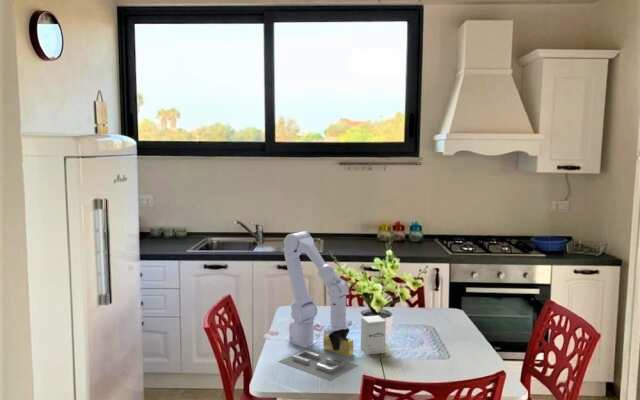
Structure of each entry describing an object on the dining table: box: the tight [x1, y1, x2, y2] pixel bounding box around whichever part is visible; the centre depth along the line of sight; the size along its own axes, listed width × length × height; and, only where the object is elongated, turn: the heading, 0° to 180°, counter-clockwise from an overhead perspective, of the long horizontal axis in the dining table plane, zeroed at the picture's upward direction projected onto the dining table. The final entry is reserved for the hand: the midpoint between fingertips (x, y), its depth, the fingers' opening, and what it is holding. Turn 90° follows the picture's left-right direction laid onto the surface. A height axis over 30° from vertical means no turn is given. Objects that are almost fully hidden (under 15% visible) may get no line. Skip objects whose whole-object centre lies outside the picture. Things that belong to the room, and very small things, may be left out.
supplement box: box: [360, 315, 387, 355], centre depth 195 cm, size 7×7×13 cm
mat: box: [277, 347, 359, 382], centre depth 183 cm, size 24×16×1 cm, turn 50°
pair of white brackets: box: [293, 349, 344, 374], centre depth 183 cm, size 18×7×2 cm, turn 50°
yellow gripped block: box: [323, 334, 354, 358], centre depth 193 cm, size 12×3×6 cm, turn 50°
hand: (338, 348), depth 194 cm, fingers closed on yellow gripped block, 3 cm apart
